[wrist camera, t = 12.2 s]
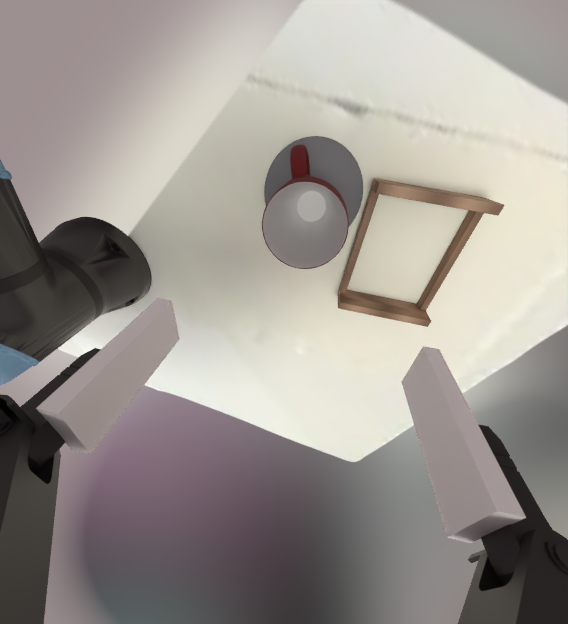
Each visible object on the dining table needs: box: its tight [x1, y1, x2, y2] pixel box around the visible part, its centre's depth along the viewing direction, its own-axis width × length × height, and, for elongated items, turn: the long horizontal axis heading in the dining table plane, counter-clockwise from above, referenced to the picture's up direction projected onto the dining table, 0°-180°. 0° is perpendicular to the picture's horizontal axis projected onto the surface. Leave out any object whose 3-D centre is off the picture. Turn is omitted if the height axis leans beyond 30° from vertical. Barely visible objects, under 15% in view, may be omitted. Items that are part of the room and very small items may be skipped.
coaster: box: [265, 136, 363, 226], centre depth 30 cm, size 12×12×1 cm
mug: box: [262, 144, 349, 269], centre depth 26 cm, size 11×8×10 cm
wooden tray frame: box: [338, 178, 504, 327], centre depth 31 cm, size 13×16×4 cm
